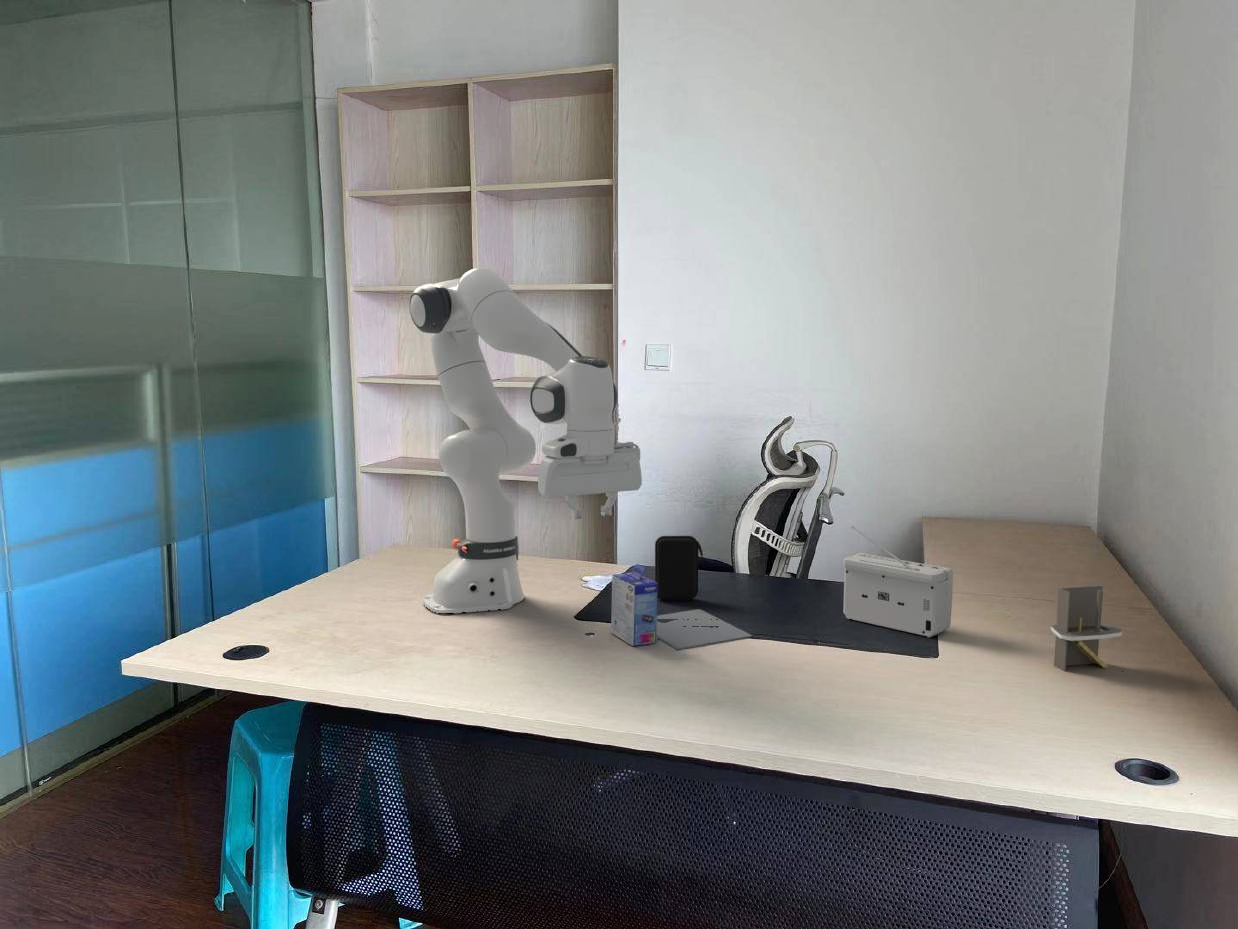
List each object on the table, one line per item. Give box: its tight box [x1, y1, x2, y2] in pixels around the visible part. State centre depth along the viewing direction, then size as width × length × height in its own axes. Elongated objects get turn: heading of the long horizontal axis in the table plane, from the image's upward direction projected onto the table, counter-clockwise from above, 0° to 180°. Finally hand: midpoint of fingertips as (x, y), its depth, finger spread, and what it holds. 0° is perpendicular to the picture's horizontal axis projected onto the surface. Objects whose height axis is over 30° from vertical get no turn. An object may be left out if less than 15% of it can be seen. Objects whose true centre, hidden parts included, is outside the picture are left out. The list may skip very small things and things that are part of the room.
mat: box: [656, 608, 753, 651], centre depth 189 cm, size 17×20×1 cm
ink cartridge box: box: [610, 563, 658, 647], centre depth 183 cm, size 10×6×14 cm, turn 27°
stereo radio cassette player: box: [842, 525, 954, 639], centre depth 190 cm, size 21×8×20 cm, turn 47°
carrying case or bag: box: [654, 535, 704, 601], centre depth 209 cm, size 11×3×15 cm, turn 90°
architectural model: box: [1050, 584, 1123, 672], centre depth 166 cm, size 20×25×15 cm
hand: (591, 517), depth 176 cm, fingers open, 5 cm apart
